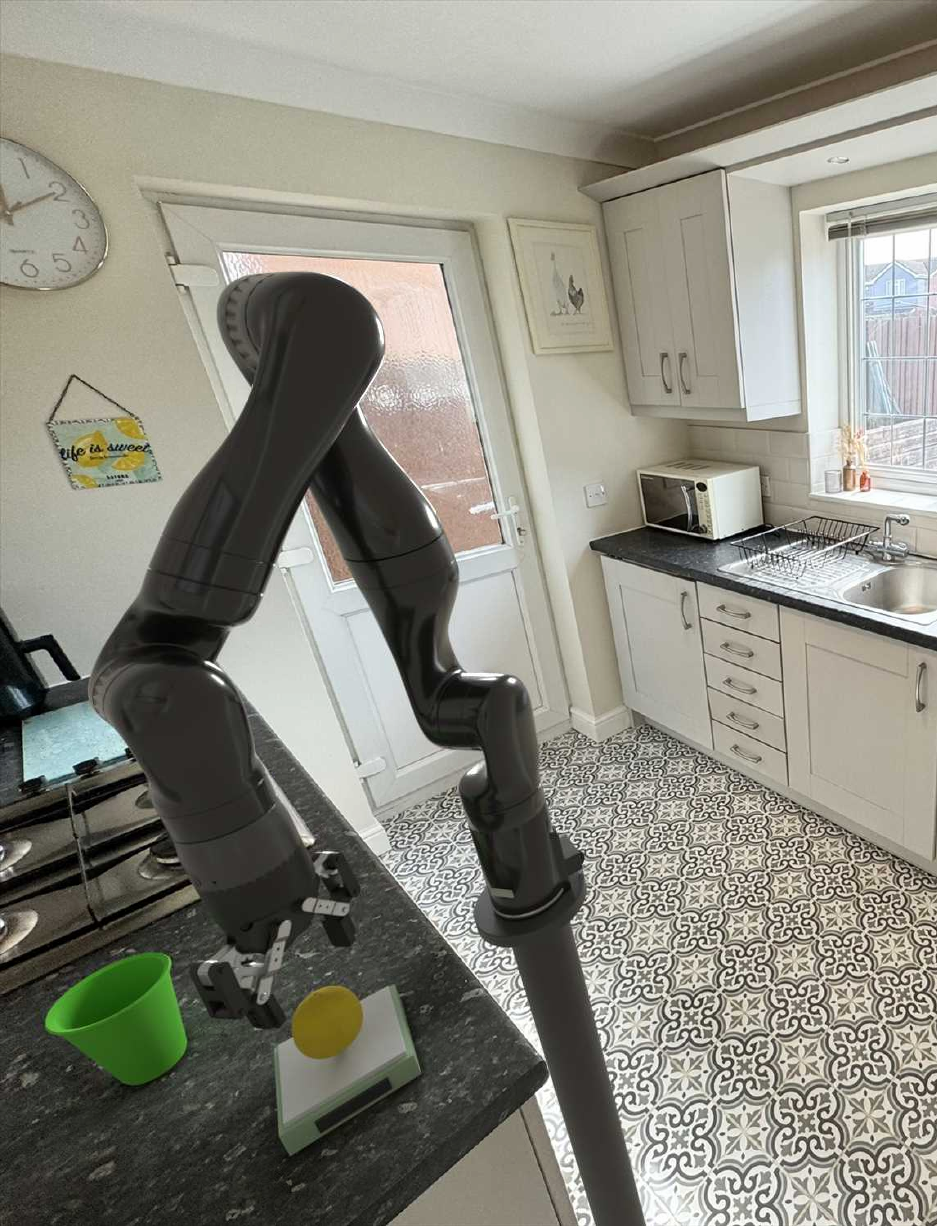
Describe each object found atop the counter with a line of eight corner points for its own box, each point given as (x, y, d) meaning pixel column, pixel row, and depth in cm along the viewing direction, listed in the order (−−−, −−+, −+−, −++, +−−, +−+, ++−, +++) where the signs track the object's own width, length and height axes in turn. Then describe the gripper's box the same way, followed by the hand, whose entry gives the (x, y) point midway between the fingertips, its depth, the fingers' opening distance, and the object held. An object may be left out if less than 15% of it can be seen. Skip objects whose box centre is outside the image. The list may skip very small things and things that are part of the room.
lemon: (324, 1087, 62) (296, 1031, 59) (297, 1060, 65) (269, 1005, 62) (383, 1037, 66) (360, 983, 63) (355, 1014, 69) (331, 960, 66)
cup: (213, 1060, 69) (171, 988, 65) (92, 1127, 63) (37, 1053, 59) (209, 1005, 75) (170, 936, 71) (98, 1062, 69) (49, 991, 65)
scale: (401, 1001, 74) (392, 979, 73) (422, 1075, 66) (412, 1052, 65) (283, 1067, 68) (271, 1044, 66) (290, 1158, 60) (276, 1135, 58)
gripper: (208, 924, 49) (285, 1058, 56) (347, 802, 62) (397, 922, 69) (122, 920, 50) (208, 1053, 56) (277, 801, 63) (333, 919, 70)
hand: (312, 981), depth 63 cm, fingers open, 8 cm apart
